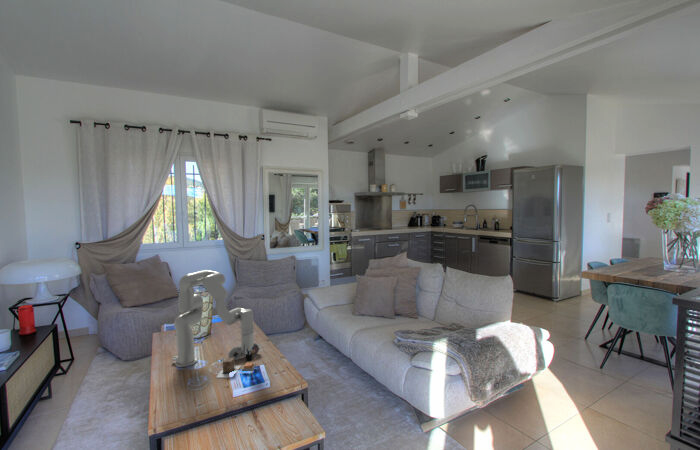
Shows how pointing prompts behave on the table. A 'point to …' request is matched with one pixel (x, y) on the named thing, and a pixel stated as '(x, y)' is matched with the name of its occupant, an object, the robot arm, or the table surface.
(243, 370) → the button housing
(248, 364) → the button
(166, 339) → the table surface
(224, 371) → the rubber stamp
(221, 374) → the drawing card
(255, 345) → the game controller
